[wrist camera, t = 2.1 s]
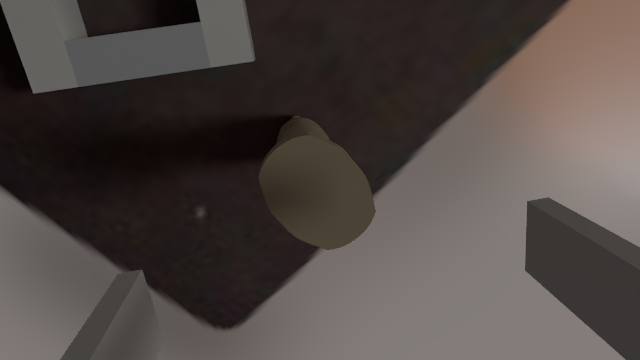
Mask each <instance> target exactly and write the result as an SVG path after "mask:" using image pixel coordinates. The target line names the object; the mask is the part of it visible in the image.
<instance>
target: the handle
mask: <svg viewBox="0 0 640 360" xmlns="http://www.w3.org/2000/svg"><path fill="white" fill-rule="evenodd" d="M259 182H260V185H261V188H262V191H263V194H264V197H265V200H266V203H267V205H268V207H269V209H270V211H271V213H272V214H273V215H274V216H275V218H276V219H277V220H278V221H279V222H280V223H281V224H282V225H283V226H284V227H285V228H286V229H287V230H288V231H289V232H290V233H291V234H293V235H294V236H295V237H296V238H298V239H300V240H302V241H304V242H307V243H309V244H312V245H315V246H318V247H321V248H323V249H326V250H330V249H335V248H339V247H342V246H344V245H346V244H348V243H350V242H352V241H353V240H354V239H356V238H357V237H359V236H360V235H361V234H362V233H363V232H364V231H365V230H366V229H367V227H368V226H369V224H370V223H371V221H372V219H373V217H374V214H375V207H374V202H373V197H372V193H371V189H370V186H369V183H368V181H367V178H366V177H365V175H364V173H363V172H362V171H361V169H360V168H359V167H358V166H357V164H356V163H355V162H354V161H353V160H352V158H351V157H350V156H349V155H348V154H347V153H346V151H345V150H344V149H343V148H342V147H341V146H339V145H337V144H335V143H333V142H331V141H330V140H329V138H328V136H327V135H326V134H325V132H324V131H323V129H322V128H321V127H320V126H319V125H318V124H316V123H315V122H314V121H312V120H310V119H307V118H300V117H298V116H293V117H292V118H291V120H290V121H288V122H287V123H285V125H282V127H281V129H280V132H279V135H278V138H277V144H276V145H275V146H274V147H273V148H272V149H271V150H270V151H269V152H268V154H267V155H266V156H265V158H264V160H263V162H262V165H261V168H260V171H259Z"/></svg>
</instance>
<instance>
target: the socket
mask: <svg viewBox="0 0 640 360" xmlns="http://www.w3.org/2000/svg"><path fill="white" fill-rule="evenodd" d="M0 3H1V6H2V9H3V12H4V14H5V17H6V20H7V23H8V25H9V28H10V31H11V34H12V36H13V39H14V42H15V44H16V47H17V50H18V53H19V55H20V58H21V61H22V64H23V66H24V69H25V72H26V75H27V77H28V80H29V83H30V86H31V88H32V91H33V94H34V93H41V92H48V91H54V90H61V89H68V88H75V87H82V86H88V85H95V84H102V83H109V82H116V81H122V80H129V79H136V78H143V77H150V76H156V75H163V74H170V73H177V72H184V71H190V70H197V69H204V68H211V67H218V66H224V65H231V64H238V63H245V62H251V61H254V60H255V54H254V49H253V43H252V37H251V32H250V26H249V21H248V15H247V10H246V4H245V0H196V3H197V7H198V12H199V16H200V21H201V22H196V23H188V24H181V25H174V26H167V27H160V28H153V29H145V30H138V31H131V32H124V33H117V34H110V35H102V36H95V37H88V36H87V33H86V29H85V26H84V23H83V20H82V16H81V13H80V10H79V7H78V3H77V0H0Z"/></svg>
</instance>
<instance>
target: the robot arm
mask: <svg viewBox="0 0 640 360" xmlns="http://www.w3.org/2000/svg"><path fill="white" fill-rule="evenodd" d="M526 230H527V231H526V262H525V271H526V272H528V273H529V274H530V275H531V276H532V277H533V278H534V279H536V280H537V281H538V282H539V283H540V284H541V285H542V286H543V287H545V288H546V289H547V290H548V291H549V292H550V293H552V294H553V295H554V296H555V297H556V298H557V299H558V300H559V301H560V302H562V303H563V304H564V305H565V306H566V307H567V308H568V309H570V311H572V312H573V313H574V314H575V315H576V316H577V317H578V318H580V319H581V320H582V321H583V322H584V323H585V324H586V325H587V326H589V327H590V328H591V329H592V330H593V331H594V332H595V333H596V334H598V335H599V336H600V337H601V338H602V339H603V340H605V341H606V342H607V343H608V344H609V345H610V346H611V347H612V348H613V349H615V350H616V351H617V352H618V353H619V354H620V355H622V357H624V358H625V359H626V360H640V247H638V246H636V245H634V244H632V243H631V242H628V241H627V240H625V239H623V238H621V237H619V236H618V235H616V234H614V233H612V232H610V231H609V230H607V229H605V228H603V227H601V226H599V225H597V224H596V223H594V222H592V221H590V220H588V219H587V218H585V217H583V216H581V215H579V214H578V213H576V212H574V211H572V210H570V209H568V208H566V207H565V206H563V205H561V204H559V203H558V202H556V201H554V200H552V199H550V198H543V199H538V200H532V201H527V229H526ZM163 340H164V336H163V333H162V330H161V327H160V324H159V321H158V318H157V315H156V312H155V308H154V306H153V303H152V299H151V296H150V293H149V290H148V287H147V284H146V281H145V277H144V274H143V271H142V270H137V271H132V272H126V273H121V274H118V275H117V276H116V278H115V279H114V281H113V282H112V284H111V285H110V287H109V288H108V290H107V291H106V293H105V294H104V296H103V297H102V298H101V300H100V301H99V303H98V304H97V306H96V307H95V309H94V310H93V312H92V314H91V315H90V317H89V318H88V319H87V321H86V322H85V324H84V325H83V327H82V328H81V330H80V331H79V333H78V334H77V336H76V337H75V339H74V340H73V342H72V343H71V345H70V346H69V347H68V349H67V350H66V352H65V353H64V355H63V356H62V358H61V359H60V360H157V357H158V354H159V351H160V349H161V346H162V343H163Z"/></svg>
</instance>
